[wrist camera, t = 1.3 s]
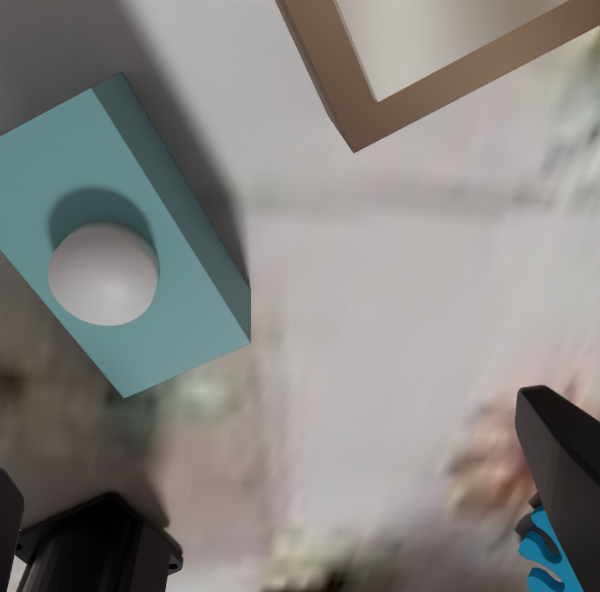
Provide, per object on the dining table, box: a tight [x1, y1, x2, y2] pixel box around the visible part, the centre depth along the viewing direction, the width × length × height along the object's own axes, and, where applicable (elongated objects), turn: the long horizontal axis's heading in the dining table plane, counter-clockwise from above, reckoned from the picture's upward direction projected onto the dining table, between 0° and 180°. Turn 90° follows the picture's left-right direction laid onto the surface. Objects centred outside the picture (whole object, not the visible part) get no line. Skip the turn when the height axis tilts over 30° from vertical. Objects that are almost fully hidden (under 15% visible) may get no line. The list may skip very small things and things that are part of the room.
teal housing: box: [0, 72, 251, 398], centre depth 17 cm, size 5×9×5 cm, turn 25°
